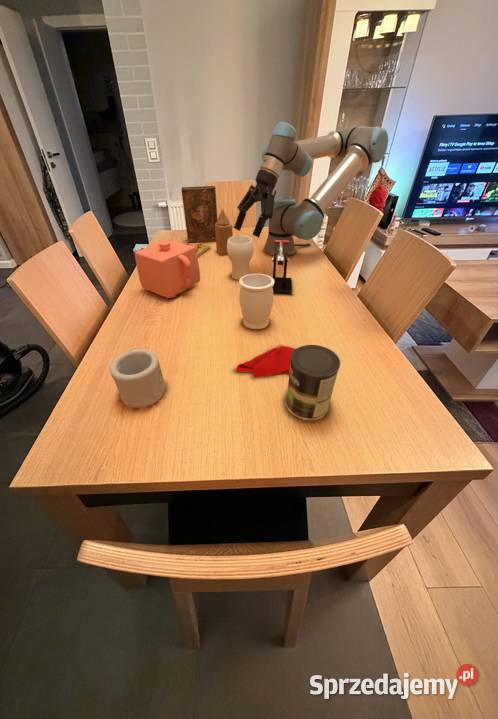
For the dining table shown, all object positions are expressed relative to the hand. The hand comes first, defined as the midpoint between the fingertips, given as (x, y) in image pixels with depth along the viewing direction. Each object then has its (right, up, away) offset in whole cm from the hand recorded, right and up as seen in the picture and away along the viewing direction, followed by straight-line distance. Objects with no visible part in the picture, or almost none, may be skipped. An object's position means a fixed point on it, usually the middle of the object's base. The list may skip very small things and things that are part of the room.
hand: (245, 232), depth 114 cm
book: (-23, +15, +46) cm, 54 cm away
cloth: (+11, -49, -30) cm, 59 cm away
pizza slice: (-26, +2, +31) cm, 41 cm away
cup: (-2, -13, +13) cm, 18 cm away
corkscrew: (+13, -8, 0) cm, 16 cm away
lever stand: (+13, -20, +5) cm, 24 cm away
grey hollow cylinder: (-26, -56, -38) cm, 72 cm away
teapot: (-27, -18, +7) cm, 33 cm away
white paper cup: (+4, -36, -15) cm, 39 cm away
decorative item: (-11, +4, +33) cm, 35 cm away
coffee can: (+15, -59, -42) cm, 74 cm away
